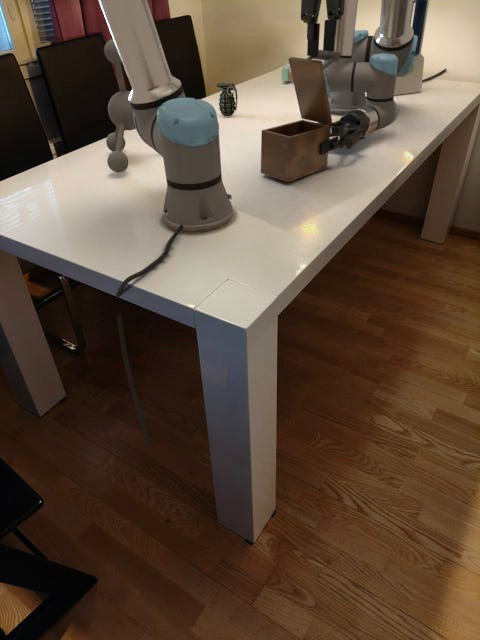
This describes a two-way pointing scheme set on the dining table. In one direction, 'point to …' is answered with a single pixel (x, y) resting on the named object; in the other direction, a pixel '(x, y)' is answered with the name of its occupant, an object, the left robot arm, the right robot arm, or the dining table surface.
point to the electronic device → (415, 75)
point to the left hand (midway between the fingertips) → (320, 53)
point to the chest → (293, 150)
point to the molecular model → (118, 114)
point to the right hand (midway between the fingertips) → (305, 144)
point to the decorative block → (289, 72)
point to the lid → (313, 85)
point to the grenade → (227, 99)
